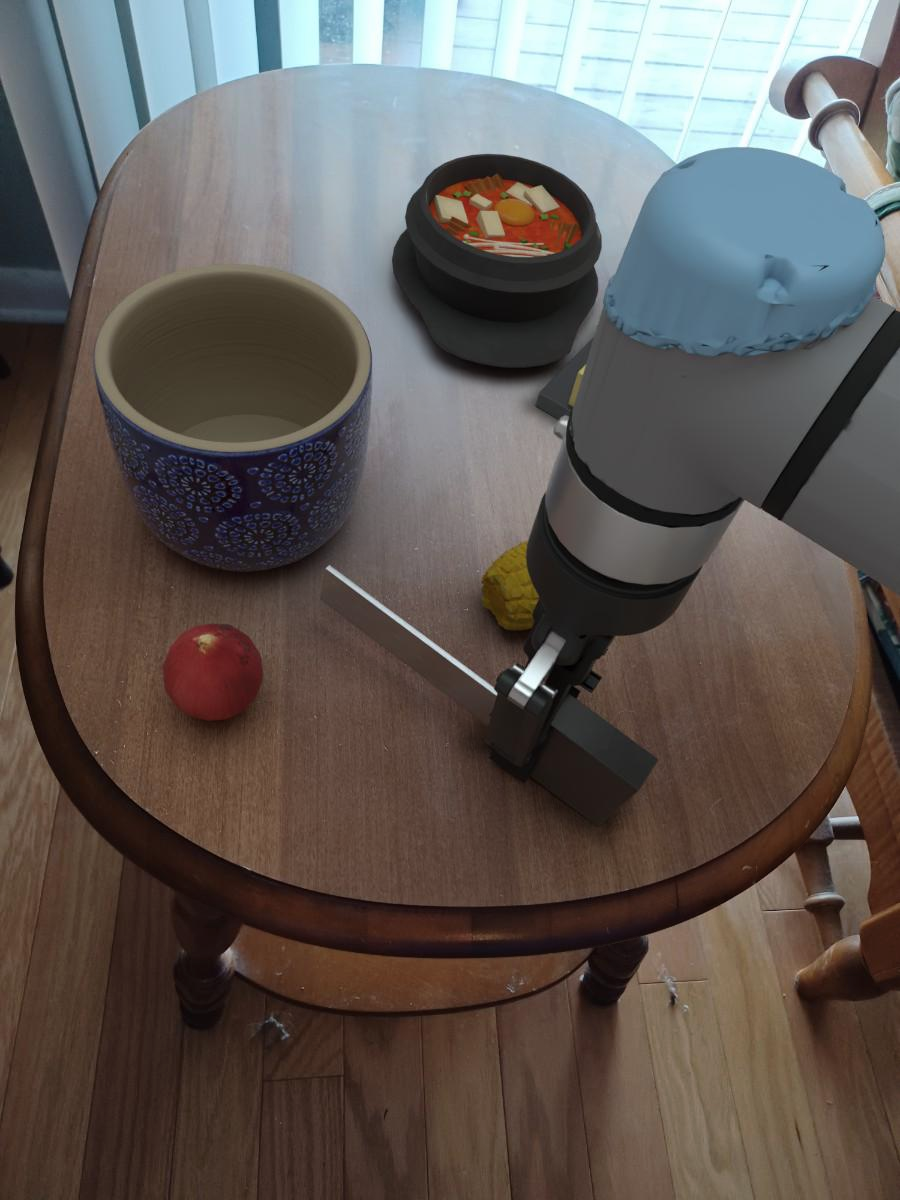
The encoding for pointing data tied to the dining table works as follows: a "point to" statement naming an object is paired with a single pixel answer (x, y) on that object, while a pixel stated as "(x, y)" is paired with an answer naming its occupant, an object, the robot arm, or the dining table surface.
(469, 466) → the dining table surface
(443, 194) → the casserole
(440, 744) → the dining table surface
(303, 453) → the planter
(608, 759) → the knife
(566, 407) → the board
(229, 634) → the onion
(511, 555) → the food
